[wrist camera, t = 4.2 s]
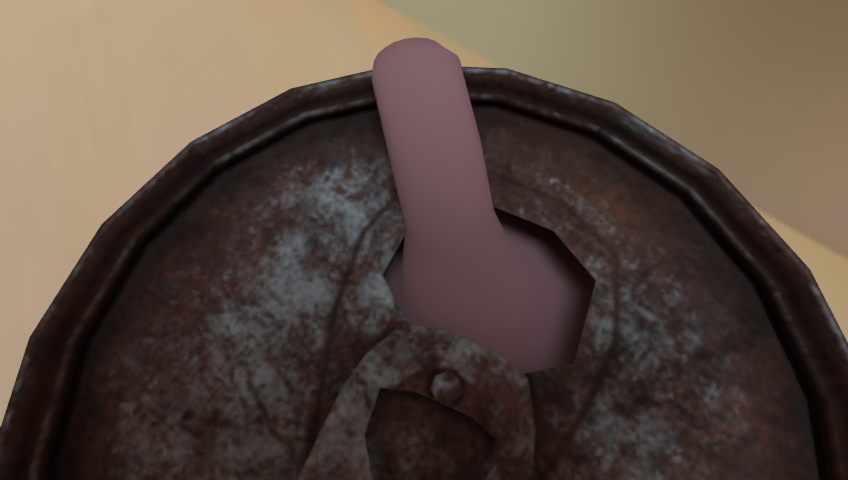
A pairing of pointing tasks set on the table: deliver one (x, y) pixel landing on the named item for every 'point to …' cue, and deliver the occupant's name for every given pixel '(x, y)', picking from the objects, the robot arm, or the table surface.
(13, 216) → the table surface
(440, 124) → the can
